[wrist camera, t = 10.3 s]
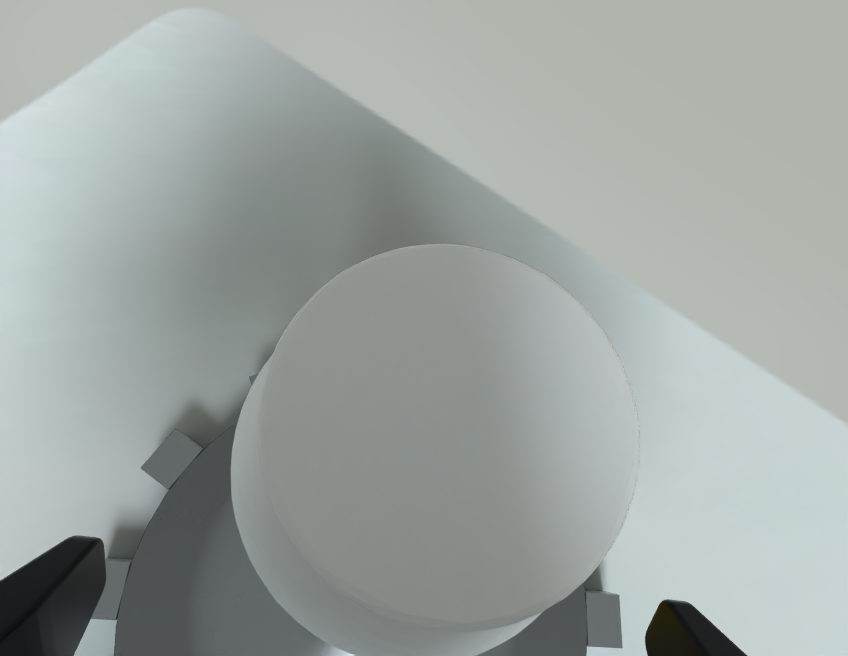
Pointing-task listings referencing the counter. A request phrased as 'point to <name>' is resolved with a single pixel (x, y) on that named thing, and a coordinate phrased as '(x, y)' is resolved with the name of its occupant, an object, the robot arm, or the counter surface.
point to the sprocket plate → (245, 591)
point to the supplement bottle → (433, 453)
